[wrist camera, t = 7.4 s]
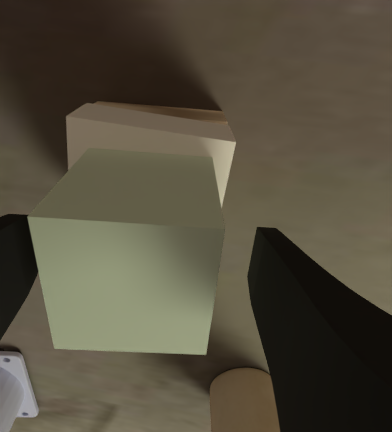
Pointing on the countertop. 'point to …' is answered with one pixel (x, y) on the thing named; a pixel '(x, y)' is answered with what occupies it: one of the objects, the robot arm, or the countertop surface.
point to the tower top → (149, 136)
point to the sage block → (130, 252)
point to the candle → (243, 402)
